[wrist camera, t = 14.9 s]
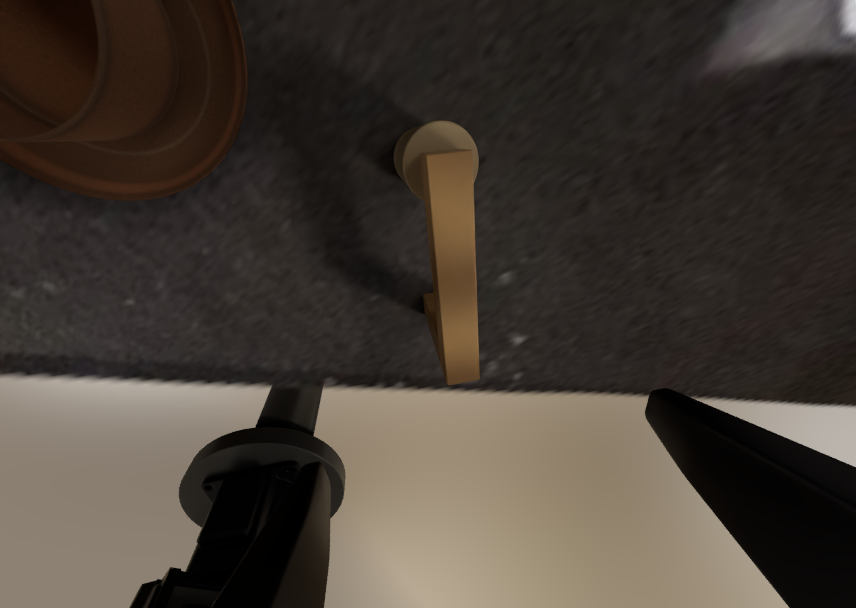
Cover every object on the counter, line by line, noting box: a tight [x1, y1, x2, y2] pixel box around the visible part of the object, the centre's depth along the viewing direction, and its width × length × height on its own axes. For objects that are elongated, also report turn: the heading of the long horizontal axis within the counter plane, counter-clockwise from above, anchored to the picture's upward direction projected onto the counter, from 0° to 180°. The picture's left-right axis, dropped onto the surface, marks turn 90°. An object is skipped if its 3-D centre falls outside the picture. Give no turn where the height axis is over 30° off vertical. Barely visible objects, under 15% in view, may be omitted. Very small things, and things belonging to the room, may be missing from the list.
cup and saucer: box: [0, 0, 248, 201], centre depth 11 cm, size 12×12×6 cm
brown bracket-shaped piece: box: [394, 120, 479, 385], centre depth 16 cm, size 11×3×7 cm, turn 6°
